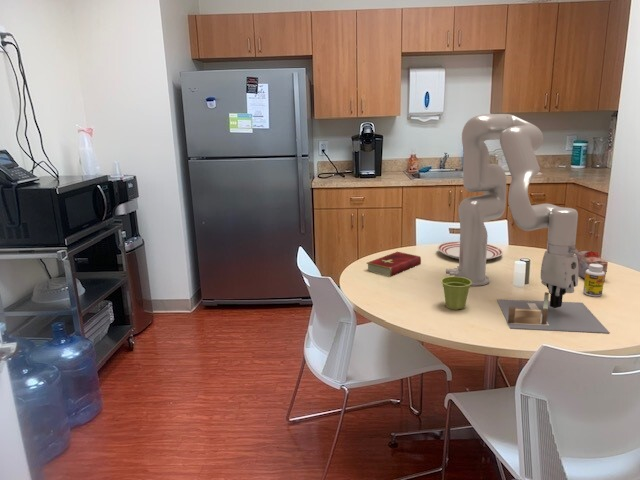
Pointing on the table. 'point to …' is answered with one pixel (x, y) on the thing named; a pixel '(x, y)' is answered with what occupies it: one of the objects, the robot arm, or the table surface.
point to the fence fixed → (526, 316)
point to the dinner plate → (454, 250)
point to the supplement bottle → (594, 280)
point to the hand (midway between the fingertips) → (555, 306)
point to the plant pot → (456, 291)
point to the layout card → (556, 317)
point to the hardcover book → (393, 263)
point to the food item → (589, 262)
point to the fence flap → (546, 300)
